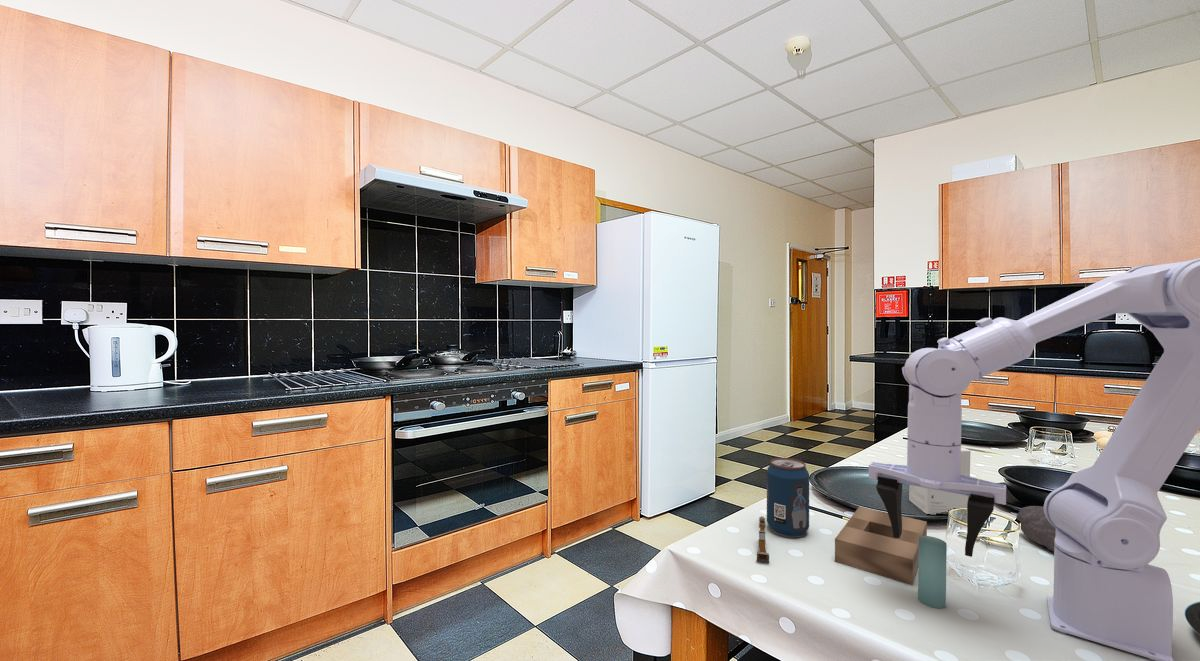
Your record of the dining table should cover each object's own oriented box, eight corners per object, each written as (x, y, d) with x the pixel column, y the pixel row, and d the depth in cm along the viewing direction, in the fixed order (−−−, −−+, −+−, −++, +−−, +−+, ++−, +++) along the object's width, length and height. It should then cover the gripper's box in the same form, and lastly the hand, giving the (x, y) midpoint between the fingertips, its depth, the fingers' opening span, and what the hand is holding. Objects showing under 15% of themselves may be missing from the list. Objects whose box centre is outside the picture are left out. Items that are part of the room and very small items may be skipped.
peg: (946, 600, 63) (947, 540, 62) (944, 611, 60) (945, 549, 60) (919, 592, 65) (920, 533, 64) (916, 602, 62) (917, 541, 62)
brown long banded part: (767, 533, 81) (767, 513, 79) (768, 574, 74) (769, 554, 72) (756, 532, 81) (756, 512, 79) (756, 573, 74) (756, 552, 72)
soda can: (776, 518, 88) (777, 454, 88) (815, 529, 84) (815, 462, 83) (759, 530, 83) (759, 462, 83) (799, 543, 79) (800, 471, 78)
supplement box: (926, 515, 89) (927, 448, 89) (908, 500, 97) (908, 438, 96) (970, 518, 88) (971, 450, 88) (948, 502, 95) (949, 440, 95)
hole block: (926, 542, 79) (926, 521, 78) (912, 584, 66) (912, 559, 66) (859, 525, 85) (859, 506, 85) (834, 561, 73) (835, 538, 73)
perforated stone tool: (1004, 534, 82) (1004, 494, 82) (1032, 532, 82) (1032, 492, 82) (1104, 582, 67) (1106, 533, 67) (1138, 580, 67) (1139, 531, 67)
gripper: (864, 437, 64) (862, 538, 64) (1007, 458, 54) (1004, 575, 55) (875, 428, 69) (873, 520, 69) (1006, 445, 60) (1004, 552, 60)
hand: (931, 543), depth 62 cm, fingers open, 7 cm apart
